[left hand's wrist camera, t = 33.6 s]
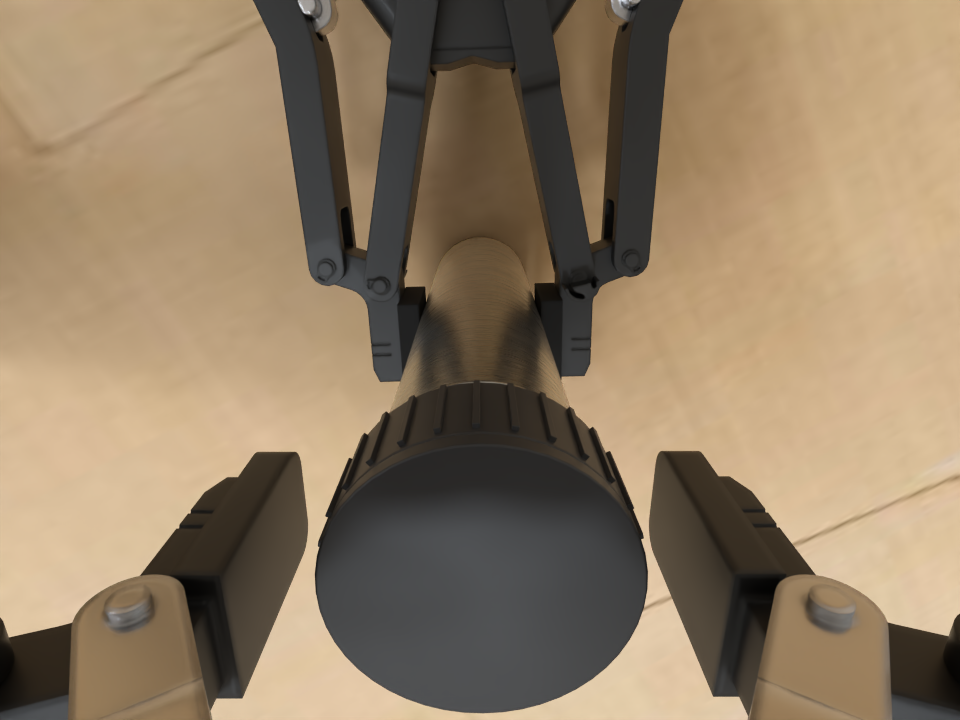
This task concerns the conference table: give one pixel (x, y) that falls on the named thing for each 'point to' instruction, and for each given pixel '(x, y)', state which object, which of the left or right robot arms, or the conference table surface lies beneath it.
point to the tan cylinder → (480, 327)
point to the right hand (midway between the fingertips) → (484, 447)
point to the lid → (481, 551)
